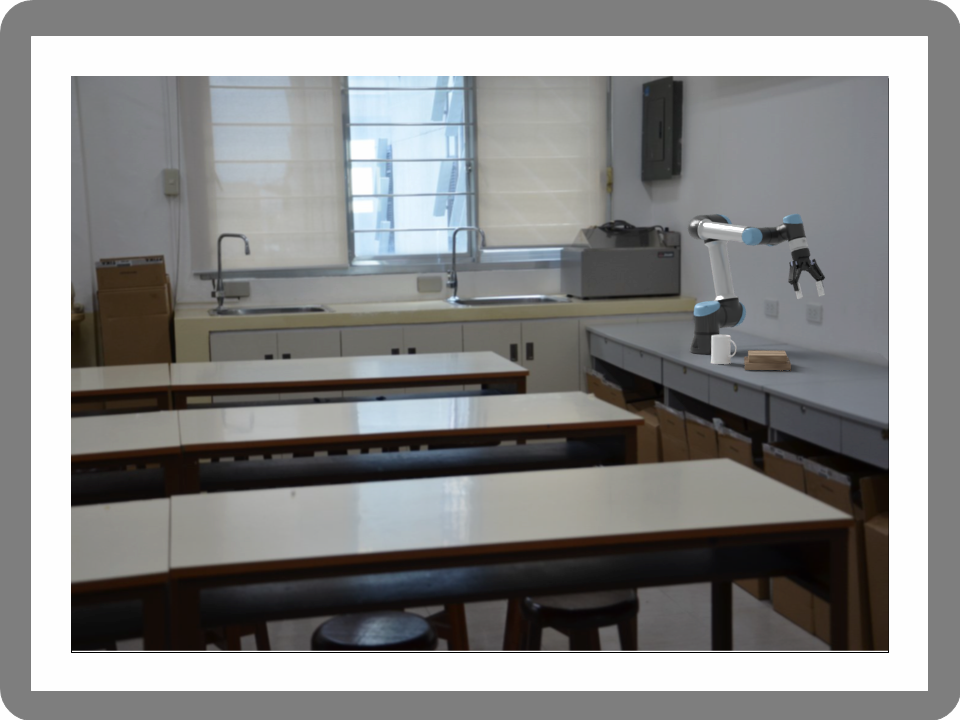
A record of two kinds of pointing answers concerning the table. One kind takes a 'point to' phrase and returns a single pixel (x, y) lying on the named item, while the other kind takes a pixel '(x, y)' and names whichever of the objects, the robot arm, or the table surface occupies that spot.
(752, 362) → the pedestal
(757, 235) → the robot arm
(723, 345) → the mug
